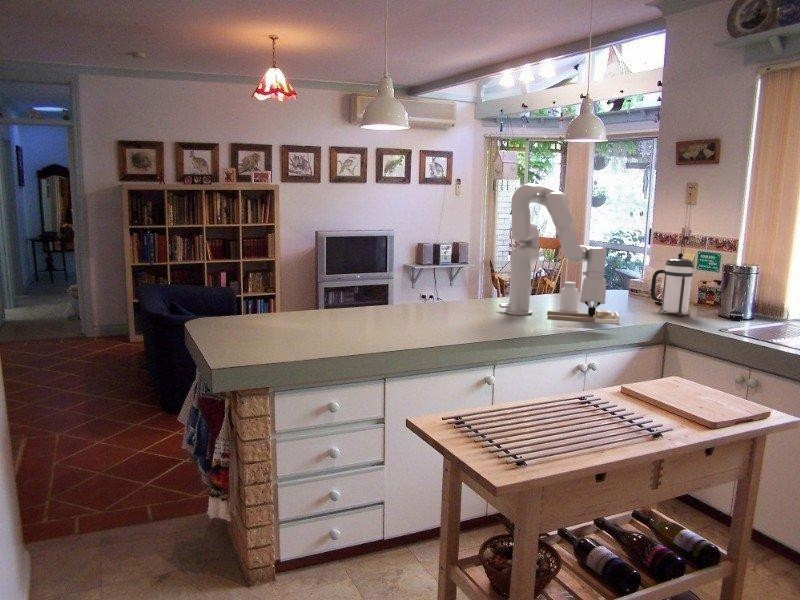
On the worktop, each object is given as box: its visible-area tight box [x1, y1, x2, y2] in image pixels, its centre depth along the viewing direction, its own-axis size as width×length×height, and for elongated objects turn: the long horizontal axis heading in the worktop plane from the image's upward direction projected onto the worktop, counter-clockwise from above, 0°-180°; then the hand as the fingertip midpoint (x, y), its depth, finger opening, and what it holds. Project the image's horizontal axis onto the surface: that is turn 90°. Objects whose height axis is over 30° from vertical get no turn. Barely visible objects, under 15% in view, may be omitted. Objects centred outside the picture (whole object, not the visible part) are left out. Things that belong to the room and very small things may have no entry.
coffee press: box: [650, 252, 696, 318], centre depth 309 cm, size 17×16×30 cm
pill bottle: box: [559, 281, 579, 313], centre depth 302 cm, size 8×8×15 cm
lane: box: [546, 310, 620, 325], centre depth 282 cm, size 30×12×5 cm, turn 78°
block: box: [595, 309, 613, 319], centre depth 281 cm, size 6×6×4 cm
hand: (591, 316), depth 281 cm, fingers closed
